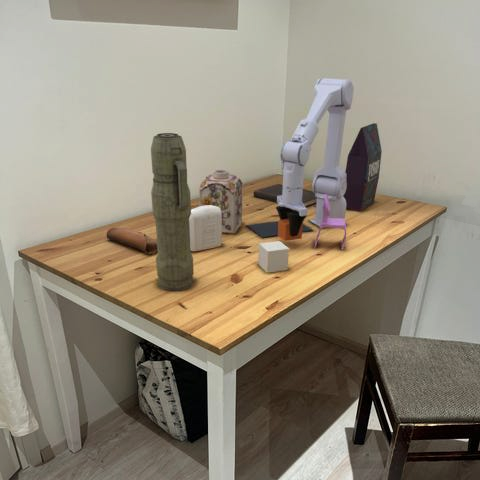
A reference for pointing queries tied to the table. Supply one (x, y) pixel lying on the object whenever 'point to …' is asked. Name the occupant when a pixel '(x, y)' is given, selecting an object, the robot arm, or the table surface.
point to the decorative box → (363, 169)
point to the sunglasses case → (133, 239)
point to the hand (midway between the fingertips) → (289, 232)
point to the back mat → (270, 229)
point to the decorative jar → (223, 198)
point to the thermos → (171, 212)
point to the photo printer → (205, 227)
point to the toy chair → (330, 221)
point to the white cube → (273, 256)
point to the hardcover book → (276, 190)
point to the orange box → (287, 230)
